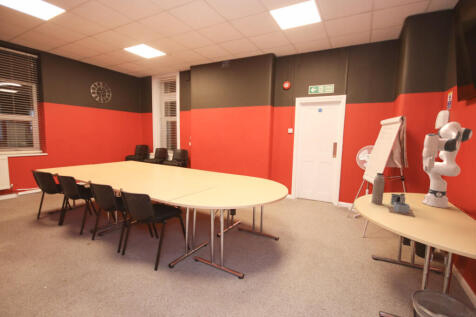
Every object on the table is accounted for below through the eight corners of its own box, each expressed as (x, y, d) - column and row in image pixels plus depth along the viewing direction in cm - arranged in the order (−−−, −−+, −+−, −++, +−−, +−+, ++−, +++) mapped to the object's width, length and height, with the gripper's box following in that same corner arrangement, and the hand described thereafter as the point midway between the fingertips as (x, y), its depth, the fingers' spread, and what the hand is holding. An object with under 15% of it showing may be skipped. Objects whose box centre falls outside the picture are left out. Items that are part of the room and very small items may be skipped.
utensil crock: (392, 208, 182) (393, 201, 182) (407, 210, 177) (408, 203, 177) (393, 211, 174) (394, 204, 173) (409, 214, 169) (410, 206, 168)
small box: (404, 209, 185) (406, 197, 184) (395, 208, 186) (397, 196, 185) (398, 205, 195) (399, 194, 194) (389, 205, 197) (391, 193, 195)
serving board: (387, 207, 188) (387, 206, 188) (411, 211, 180) (411, 210, 180) (389, 214, 171) (389, 212, 171) (415, 219, 163) (415, 217, 163)
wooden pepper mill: (370, 202, 201) (373, 172, 198) (380, 204, 198) (384, 173, 195) (372, 205, 193) (376, 173, 190) (383, 206, 191) (386, 174, 188)
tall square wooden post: (397, 210, 175) (399, 193, 174) (398, 208, 178) (400, 193, 177) (403, 211, 173) (405, 195, 171) (404, 210, 176) (406, 194, 174)
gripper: (438, 155, 163) (435, 174, 164) (432, 154, 180) (429, 171, 182) (427, 155, 166) (424, 173, 168) (422, 153, 183) (420, 170, 185)
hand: (427, 172), depth 175 cm, fingers open, 8 cm apart
